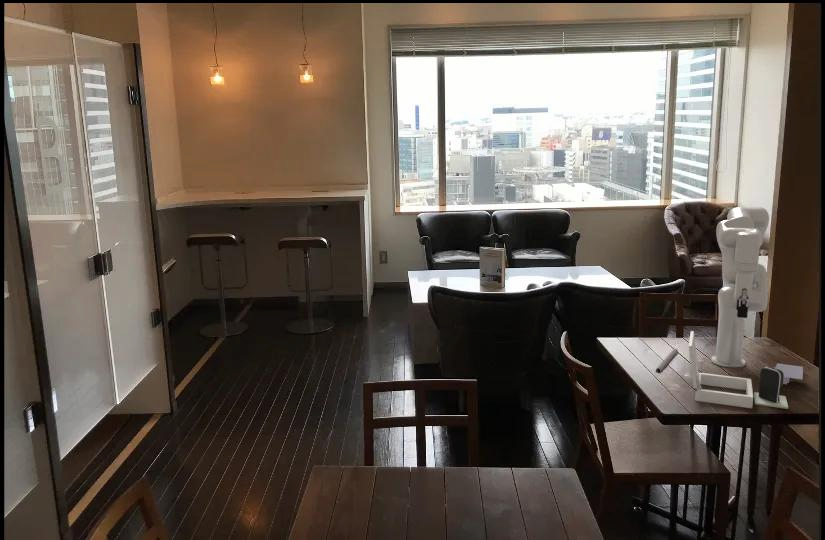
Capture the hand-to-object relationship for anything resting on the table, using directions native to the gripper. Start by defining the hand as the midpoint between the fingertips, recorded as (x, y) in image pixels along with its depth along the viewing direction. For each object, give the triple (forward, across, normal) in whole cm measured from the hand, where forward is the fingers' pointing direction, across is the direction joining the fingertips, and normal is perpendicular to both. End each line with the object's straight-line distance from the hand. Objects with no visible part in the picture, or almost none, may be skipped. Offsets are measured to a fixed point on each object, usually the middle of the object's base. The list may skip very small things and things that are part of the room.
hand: (741, 313), depth 238 cm
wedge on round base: (+29, -14, +16) cm, 36 cm away
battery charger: (+28, +8, +11) cm, 31 cm away
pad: (+28, +8, +11) cm, 31 cm away
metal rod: (+29, -20, -25) cm, 43 cm away
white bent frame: (+28, +8, -6) cm, 30 cm away
